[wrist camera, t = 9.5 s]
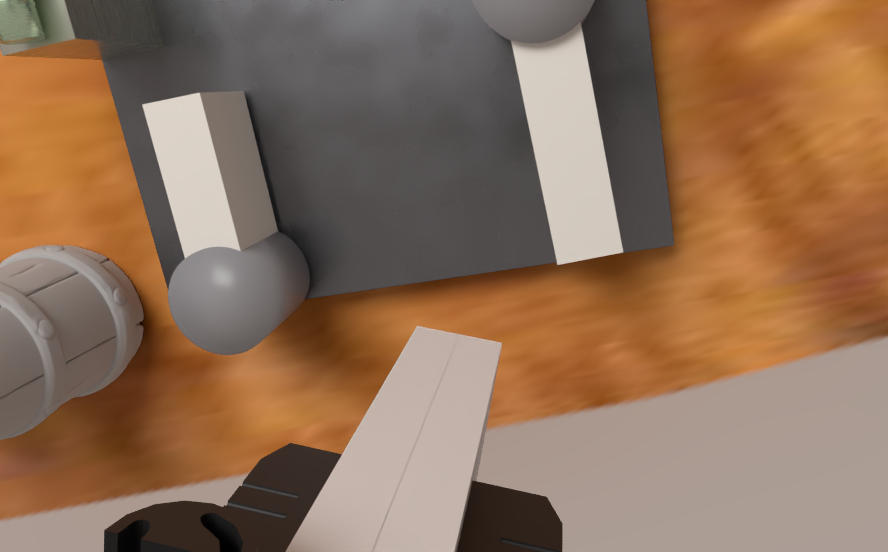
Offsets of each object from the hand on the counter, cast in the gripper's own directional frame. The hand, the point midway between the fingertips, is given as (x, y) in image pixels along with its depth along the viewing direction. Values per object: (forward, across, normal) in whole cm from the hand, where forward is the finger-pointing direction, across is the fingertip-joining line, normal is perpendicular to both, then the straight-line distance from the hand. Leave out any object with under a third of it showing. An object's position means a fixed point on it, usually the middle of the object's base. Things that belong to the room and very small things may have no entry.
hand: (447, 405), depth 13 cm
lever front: (+19, +1, +5) cm, 19 cm away
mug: (+21, -22, -10) cm, 32 cm away
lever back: (+19, -12, -2) cm, 22 cm away
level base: (+21, -7, +4) cm, 22 cm away
